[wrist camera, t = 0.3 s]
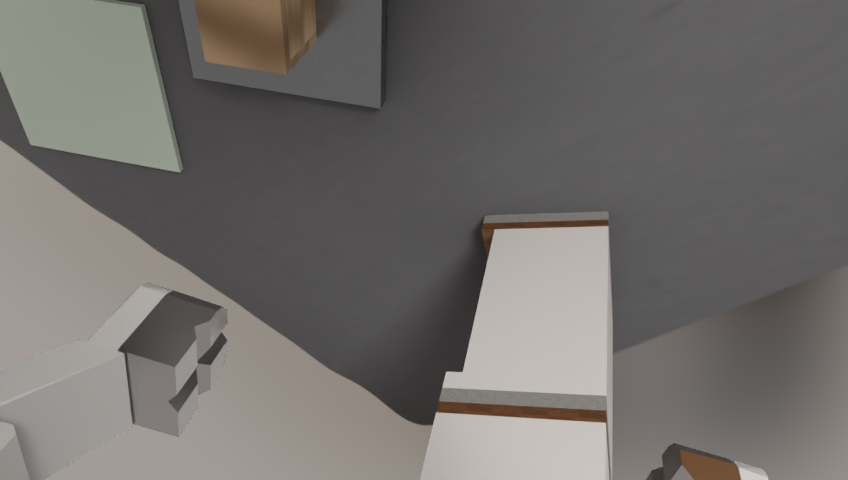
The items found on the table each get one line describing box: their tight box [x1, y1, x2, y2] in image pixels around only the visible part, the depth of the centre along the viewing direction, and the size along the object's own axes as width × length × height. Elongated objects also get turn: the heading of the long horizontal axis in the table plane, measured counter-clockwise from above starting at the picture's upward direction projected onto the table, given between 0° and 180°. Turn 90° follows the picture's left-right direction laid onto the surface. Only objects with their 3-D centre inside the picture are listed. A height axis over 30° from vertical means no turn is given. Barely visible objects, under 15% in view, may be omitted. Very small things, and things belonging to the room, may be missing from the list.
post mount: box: [178, 0, 387, 109], centre depth 46 cm, size 16×16×6 cm
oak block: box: [194, 0, 317, 75], centre depth 45 cm, size 6×6×6 cm
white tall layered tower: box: [420, 211, 613, 480], centre depth 46 cm, size 11×11×35 cm
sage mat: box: [0, 0, 183, 173], centre depth 58 cm, size 16×16×1 cm
